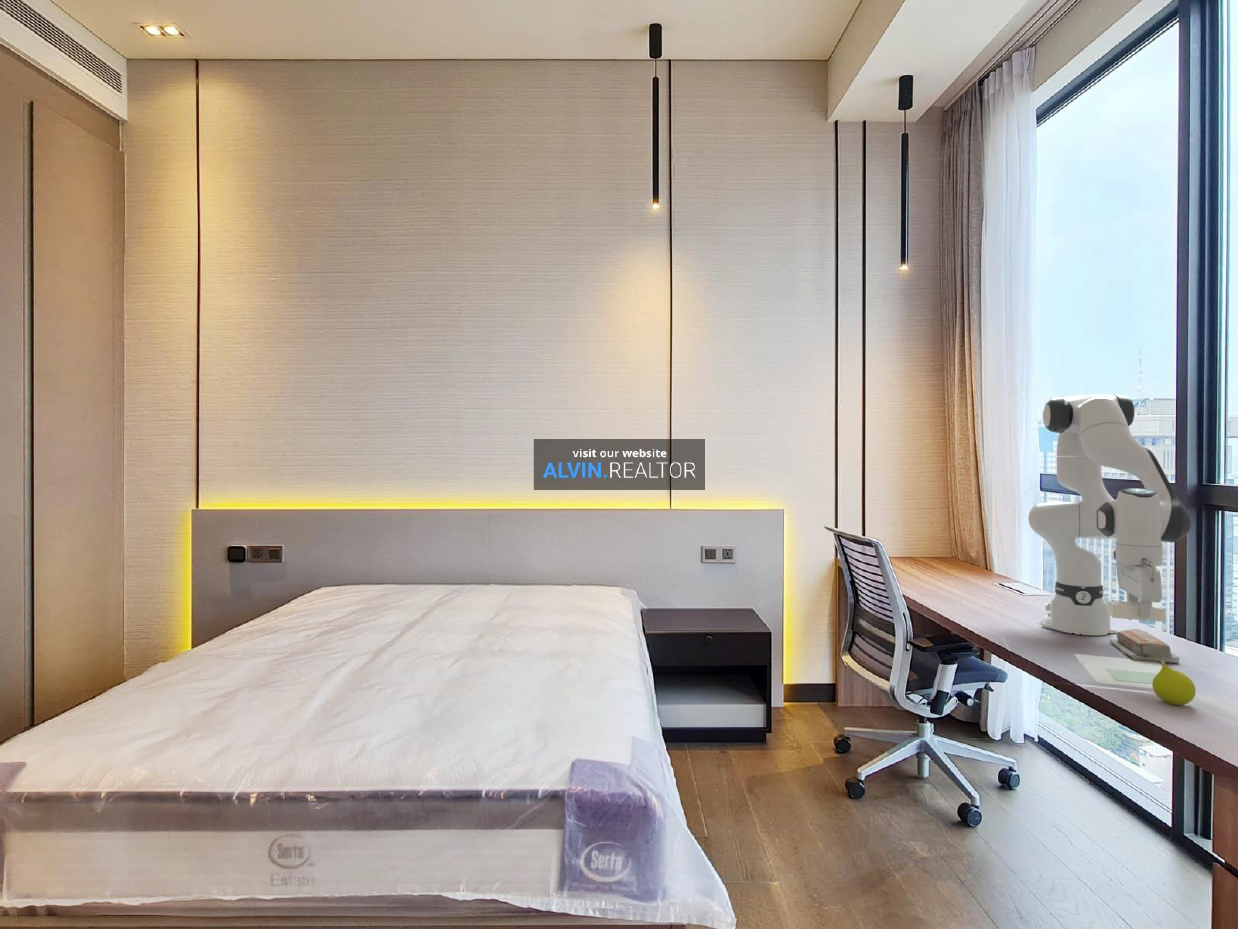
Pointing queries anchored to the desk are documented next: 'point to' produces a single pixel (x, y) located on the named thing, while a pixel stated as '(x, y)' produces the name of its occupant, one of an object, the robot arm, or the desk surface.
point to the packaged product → (1143, 646)
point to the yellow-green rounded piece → (1173, 686)
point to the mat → (1120, 670)
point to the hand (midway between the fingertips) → (1139, 614)
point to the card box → (1134, 611)
